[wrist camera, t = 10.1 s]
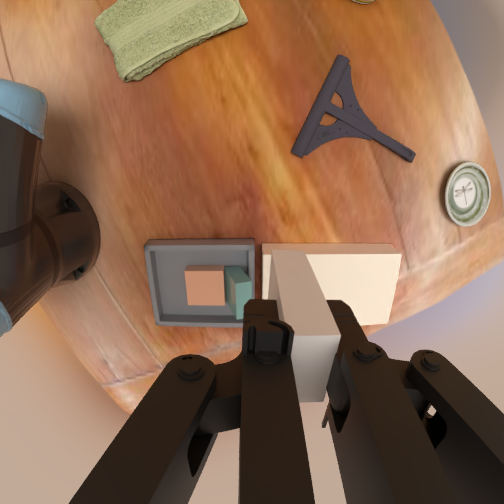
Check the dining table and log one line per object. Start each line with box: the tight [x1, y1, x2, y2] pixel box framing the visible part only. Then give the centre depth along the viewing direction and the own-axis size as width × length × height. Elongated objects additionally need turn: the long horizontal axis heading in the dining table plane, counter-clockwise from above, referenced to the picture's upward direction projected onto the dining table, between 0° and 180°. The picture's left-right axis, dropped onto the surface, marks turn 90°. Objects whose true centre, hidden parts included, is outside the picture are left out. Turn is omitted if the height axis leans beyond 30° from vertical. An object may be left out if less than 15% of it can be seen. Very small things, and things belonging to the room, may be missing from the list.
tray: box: [144, 238, 254, 327], centre depth 41 cm, size 14×12×2 cm
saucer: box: [445, 162, 491, 227], centre depth 37 cm, size 10×10×2 cm
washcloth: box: [95, 0, 248, 82], centre depth 29 cm, size 13×18×3 cm
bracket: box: [291, 55, 416, 163], centre depth 35 cm, size 14×15×3 cm
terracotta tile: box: [184, 265, 226, 305], centre depth 41 cm, size 5×5×2 cm
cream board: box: [261, 243, 402, 325], centre depth 41 cm, size 18×11×4 cm, turn 90°
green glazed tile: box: [224, 265, 252, 320], centre depth 40 cm, size 5×5×2 cm
